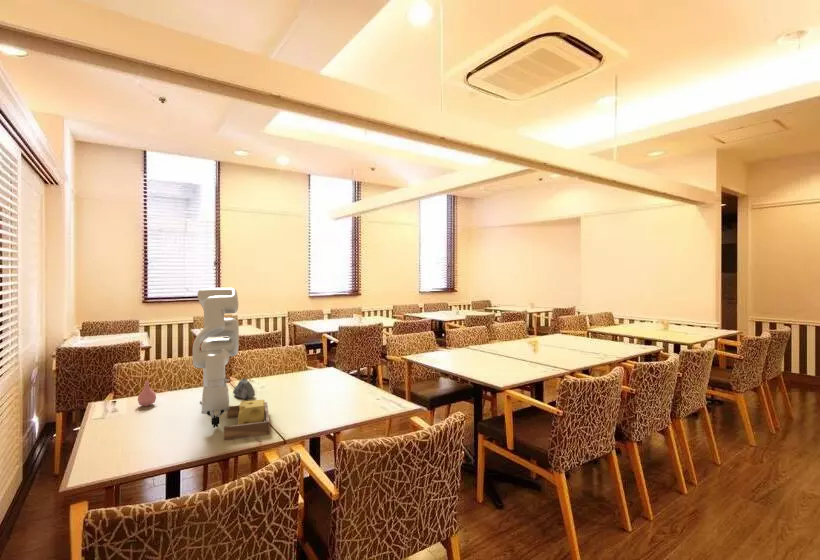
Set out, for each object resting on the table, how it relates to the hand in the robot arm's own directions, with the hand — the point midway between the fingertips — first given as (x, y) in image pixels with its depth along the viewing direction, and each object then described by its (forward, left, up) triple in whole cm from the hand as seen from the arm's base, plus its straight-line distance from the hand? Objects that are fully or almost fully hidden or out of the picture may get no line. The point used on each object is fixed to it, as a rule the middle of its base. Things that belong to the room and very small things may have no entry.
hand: (215, 425), depth 170 cm
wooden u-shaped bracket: (0, +12, -2) cm, 12 cm away
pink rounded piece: (-45, -34, -2) cm, 56 cm away
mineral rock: (-44, +10, -2) cm, 46 cm away
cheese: (+1, +14, -2) cm, 14 cm away
